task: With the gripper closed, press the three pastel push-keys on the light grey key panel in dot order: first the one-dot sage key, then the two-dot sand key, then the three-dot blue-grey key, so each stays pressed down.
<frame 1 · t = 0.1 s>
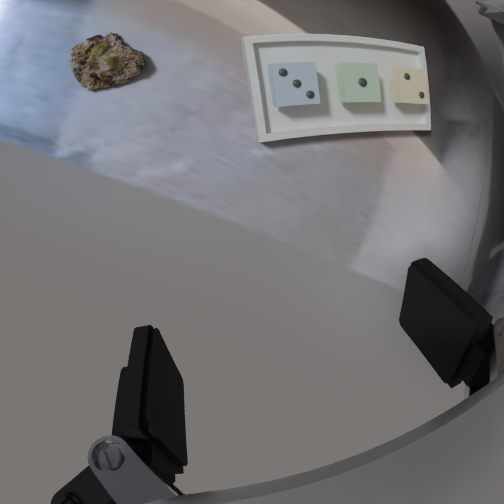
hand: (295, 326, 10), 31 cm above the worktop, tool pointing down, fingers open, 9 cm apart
key one dot: (358, 82, 32), point 3 cm above the worktop, slide at 0.0 cm
key three dots: (294, 83, 31), point 3 cm above the worktop, slide at 0.0 cm
key two dots: (410, 85, 33), point 3 cm above the worktop, slide at 0.0 cm
mineral rock: (108, 63, 28), on the worktop
geiger counter: (494, 17, 28), on the worktop
key panel: (347, 83, 35), on the worktop
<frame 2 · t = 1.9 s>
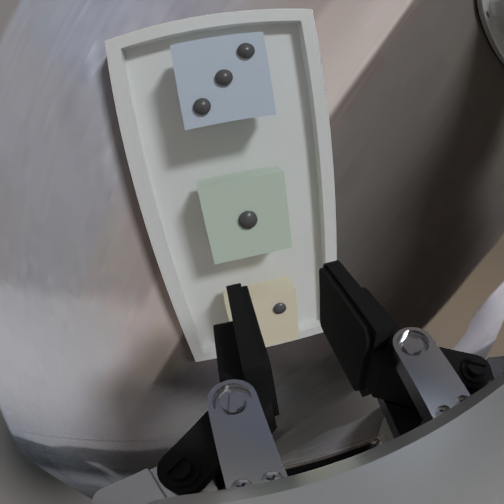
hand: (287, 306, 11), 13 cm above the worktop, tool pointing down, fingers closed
key one dot: (245, 214, 20), point 3 cm above the worktop, slide at 0.0 cm
key three dots: (222, 79, 15), point 3 cm above the worktop, slide at 0.0 cm
key two dots: (262, 316, 24), point 3 cm above the worktop, slide at 0.0 cm
key panel: (239, 200, 23), on the worktop
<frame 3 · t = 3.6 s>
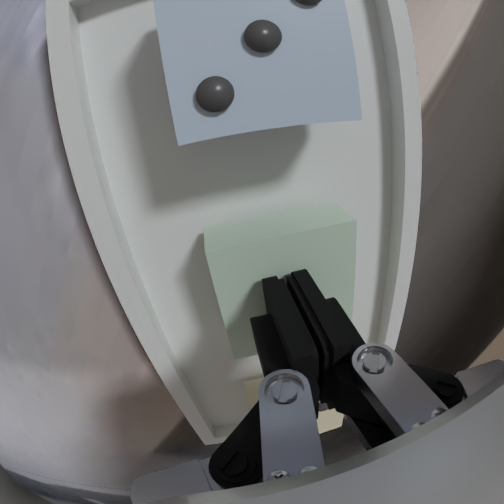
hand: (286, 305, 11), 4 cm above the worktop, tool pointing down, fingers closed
key one dot: (284, 284, 12), point 3 cm above the worktop, slide at 0.6 cm, touching gripper
key three dots: (256, 43, 7), point 3 cm above the worktop, slide at 0.0 cm
key two dots: (298, 409, 16), point 3 cm above the worktop, slide at 0.0 cm
key panel: (271, 255, 14), on the worktop
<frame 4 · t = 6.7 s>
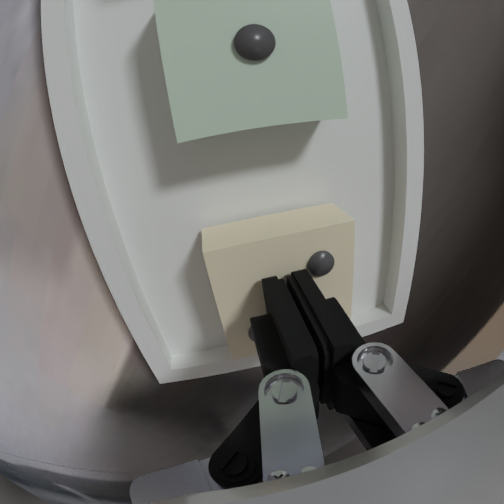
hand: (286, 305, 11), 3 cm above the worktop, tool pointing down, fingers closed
key one dot: (249, 48, 8), point 2 cm above the worktop, slide at 1.0 cm
key two dots: (283, 285, 12), point 2 cm above the worktop, slide at 0.9 cm, touching gripper
key panel: (240, 58, 10), on the worktop
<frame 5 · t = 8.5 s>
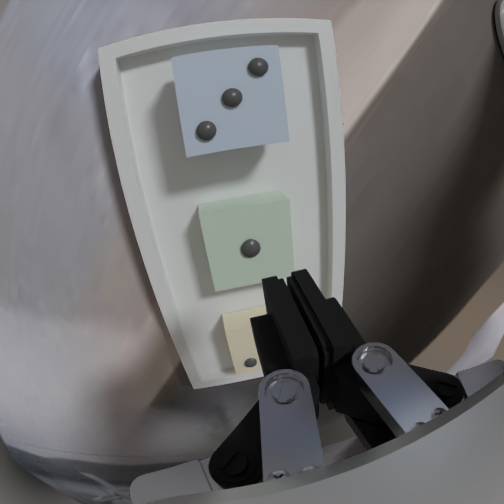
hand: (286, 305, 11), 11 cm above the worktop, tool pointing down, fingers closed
key one dot: (247, 241, 19), point 2 cm above the worktop, slide at 1.0 cm
key three dots: (229, 98, 14), point 3 cm above the worktop, slide at 0.0 cm
key two dots: (262, 340, 23), point 2 cm above the worktop, slide at 1.0 cm
key panel: (242, 228, 21), on the worktop
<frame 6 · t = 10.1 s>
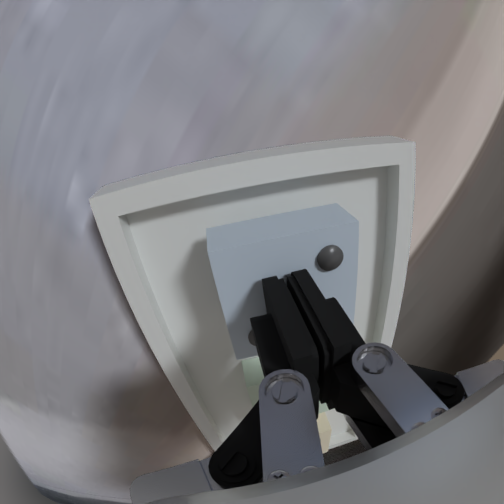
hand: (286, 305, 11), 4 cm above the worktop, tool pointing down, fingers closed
key one dot: (292, 389, 17), point 2 cm above the worktop, slide at 1.0 cm
key three dots: (287, 285, 12), point 3 cm above the worktop, slide at 0.0 cm, touching gripper
key two dots: (297, 441, 22), point 2 cm above the worktop, slide at 1.0 cm
key panel: (284, 365, 19), on the worktop
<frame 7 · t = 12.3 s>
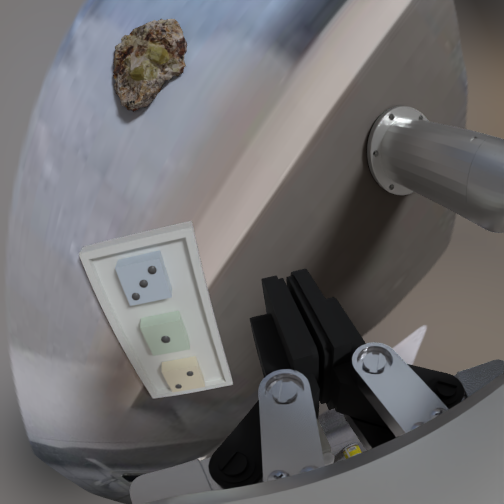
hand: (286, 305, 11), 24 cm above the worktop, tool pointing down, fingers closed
key one dot: (165, 334, 38), point 2 cm above the worktop, slide at 1.0 cm
key three dots: (144, 279, 33), point 2 cm above the worktop, slide at 1.0 cm
key two dots: (183, 375, 42), point 2 cm above the worktop, slide at 1.0 cm
mineral rock: (147, 65, 25), on the worktop
geiger counter: (306, 426, 63), on the worktop
supplement bottle: (349, 446, 79), on the worktop
key panel: (165, 324, 39), on the worktop
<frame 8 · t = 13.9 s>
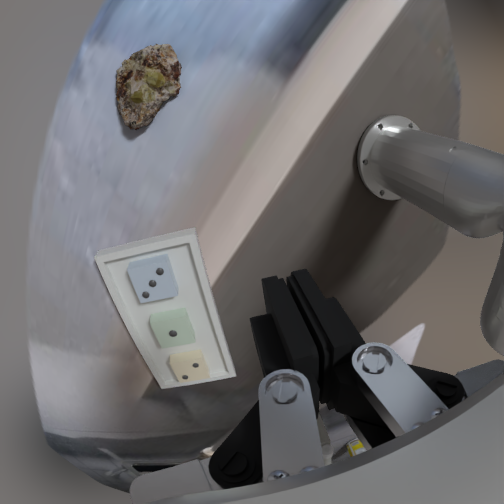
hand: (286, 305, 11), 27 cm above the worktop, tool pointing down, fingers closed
key one dot: (173, 329, 42), point 2 cm above the worktop, slide at 1.0 cm
key three dots: (153, 279, 38), point 2 cm above the worktop, slide at 1.0 cm
key two dots: (190, 367, 46), point 2 cm above the worktop, slide at 1.0 cm
mineral rock: (146, 86, 29), on the worktop
geiger counter: (309, 419, 66), on the worktop
supplement bottle: (352, 441, 82), on the worktop
key panel: (173, 319, 44), on the worktop
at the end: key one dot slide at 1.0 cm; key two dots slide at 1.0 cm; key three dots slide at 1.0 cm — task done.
